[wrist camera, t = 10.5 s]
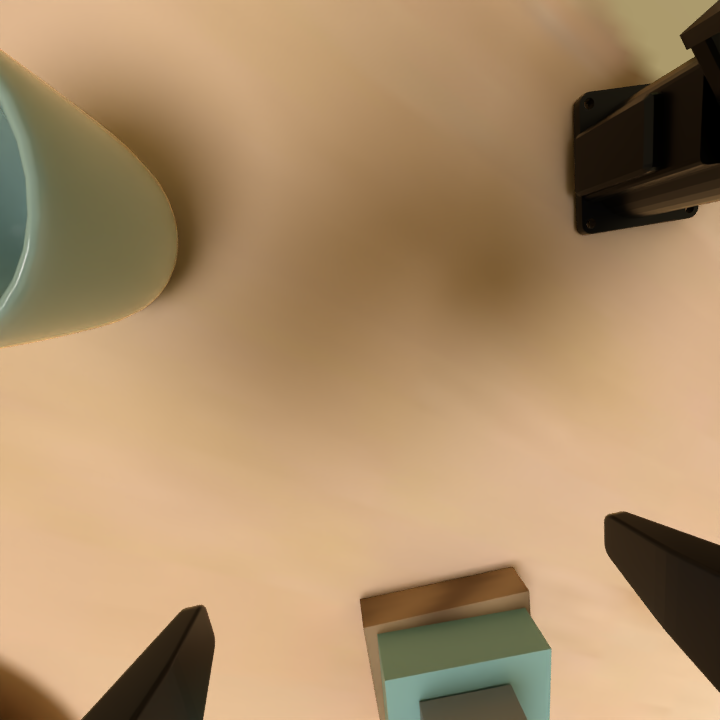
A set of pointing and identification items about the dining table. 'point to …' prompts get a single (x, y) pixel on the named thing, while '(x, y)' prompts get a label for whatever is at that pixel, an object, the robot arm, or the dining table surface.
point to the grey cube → (475, 706)
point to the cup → (72, 218)
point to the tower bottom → (438, 609)
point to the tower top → (466, 662)
